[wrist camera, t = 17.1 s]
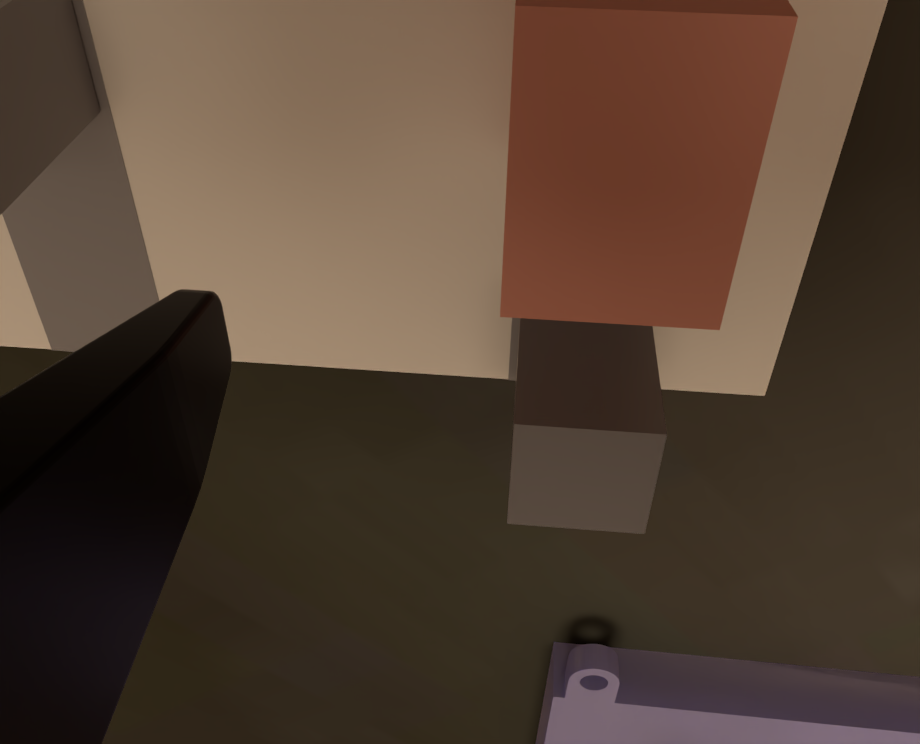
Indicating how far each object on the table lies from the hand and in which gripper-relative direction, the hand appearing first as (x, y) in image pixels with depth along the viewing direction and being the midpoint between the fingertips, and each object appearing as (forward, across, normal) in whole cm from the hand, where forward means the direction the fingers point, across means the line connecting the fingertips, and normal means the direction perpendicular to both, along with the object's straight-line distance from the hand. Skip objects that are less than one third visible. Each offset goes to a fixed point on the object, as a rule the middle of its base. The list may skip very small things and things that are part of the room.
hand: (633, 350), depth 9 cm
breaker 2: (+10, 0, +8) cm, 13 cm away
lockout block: (+10, 0, 0) cm, 10 cm away
